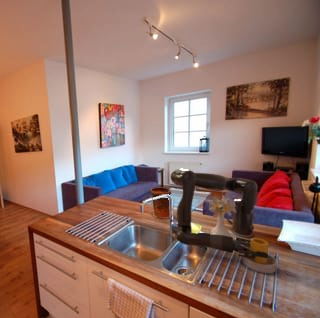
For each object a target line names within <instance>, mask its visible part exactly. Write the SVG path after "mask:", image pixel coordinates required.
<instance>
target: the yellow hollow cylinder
mask: <svg viewBox="0 0 320 318" xmlns="http://www.w3.org/2000/svg"><path fill="white" fill-rule="evenodd" d="M250 240H251V242H250V248H251V249H252V250H255V251H260V252H265V253H267V254H269V242H268V241H267V240H265V239H263V238H259V237H250ZM250 252H252V251H250ZM250 256H251V255H250ZM249 260H251V261H253V262H256V263H259V264H264V265H267V258H263V257H258V256H256V257H255V259H253V258H249Z"/></svg>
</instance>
